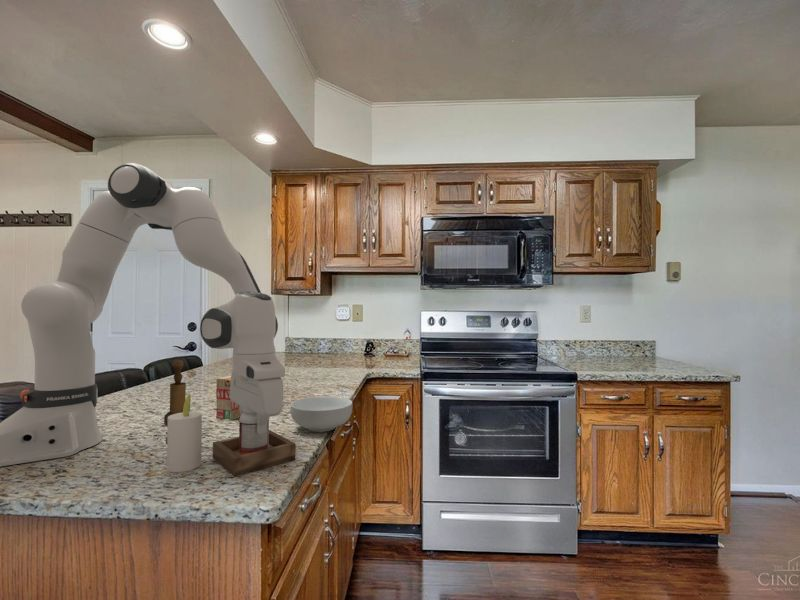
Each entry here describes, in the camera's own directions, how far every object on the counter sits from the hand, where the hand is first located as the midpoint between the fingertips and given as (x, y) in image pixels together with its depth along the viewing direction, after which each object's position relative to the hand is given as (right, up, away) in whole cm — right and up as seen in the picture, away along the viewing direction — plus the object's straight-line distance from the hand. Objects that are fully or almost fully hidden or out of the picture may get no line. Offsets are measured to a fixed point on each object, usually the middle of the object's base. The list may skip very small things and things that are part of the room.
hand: (253, 429), depth 87 cm
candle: (-13, -7, -4) cm, 15 cm away
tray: (0, -7, 0) cm, 7 cm away
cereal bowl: (+11, -7, +23) cm, 26 cm away
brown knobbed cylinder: (-32, -7, +28) cm, 43 cm away
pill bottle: (0, -6, 0) cm, 6 cm away
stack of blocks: (-16, -8, +41) cm, 44 cm away
